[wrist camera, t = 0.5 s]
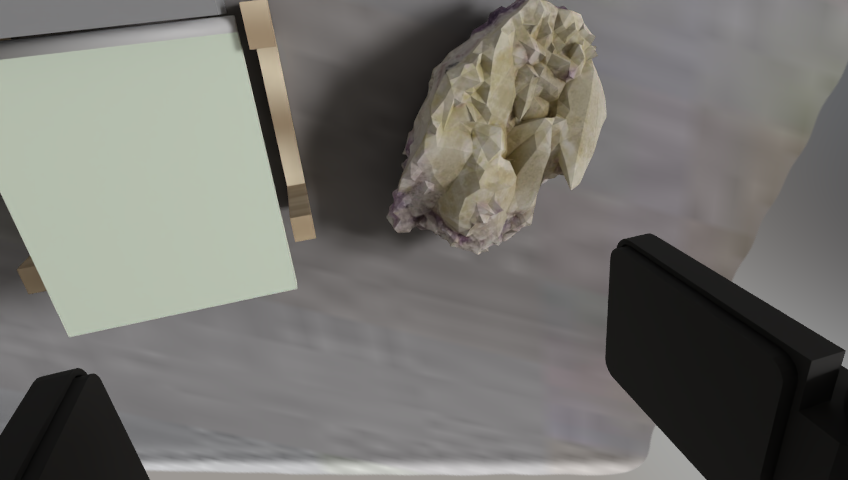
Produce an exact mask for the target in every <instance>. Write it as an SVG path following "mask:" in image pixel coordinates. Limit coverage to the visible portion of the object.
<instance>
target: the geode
mask: <svg viewBox="0 0 848 480" xmlns="http://www.w3.org/2000/svg"><path fill="white" fill-rule="evenodd" d="M595 37H596V36H594V35H592V34H591V32H590V31H589V30H588V28H587V27H586V25H585V24H584V22H583V19H582V16H581V14H578V13H576V12H574V11H571V10H568V9H567V8H565V7H564V6H562V7H557V6H554V5H553V4H551V3H550V2H548V1H546V0H516V1H515V2H514V3H513V4H511V5H510V6H508V7H507V8H505V7H502V6H501V7H499V8H498V9H496V10H495V11H494V12H492V13H491V14H490V16H489V18H488V20H487V22H486V23H484V24H482V25H481V26H479V27H478V28H476V29H474V30H473V31H472V33H471V36H470V38H469V40H467V41H466V42H464V43H463V44H461V45H460V46H458V47H457V48H455V49H454V50H452V51H451V52H450V53H449V54H448V55H447V56H446V57H445V59H444V60H443V61H442V62H441V63H440V64H439V65H438V66H436V67H435V68H434V69H433V71H432V76H431V80H430V81H429V90H428V95H427V97H426V99H425V101H424V103H423V105H422V106H421V108H420V110H419V113H418V115H417V117H416V119H415V121H414V127H413V129H412V131H410V132H409V133H408V138H407V143H406V146H405V149H404V151H403V154H404V155H407V157H408V158H407V159H406V160H405V161H404V162H403V163H402V164H401V165H402V167H403V170H404V171H403V173H402V176H401V178H400V181H399V184H398V188H397V189H396V190H395V191H393V192H392V194H393V198H394V203H393V204H392V205H391V206H390V207H389V212H388V214H387V217H386V218H387V219H388V221H389V222H390V223H391V225H392V226H393V228H394V229H395V230H396V232H397V233H406V232H410V231H411V230H412V229H413V228H414V227H417V228H419V229H420V230H431V231H433V232H434V233H435V234H436V235H437V234H438V235H440V236H441V238H442V239H445V240H447V241H448V242H449V243H450V246H451V247H457V248H461V249H464V250H468V251H472V252H474V253H476V254H477V255H479V254H480V253H481V252H489V251H488V247H490V246H491V245H493V244H495V245H497V246H499V245H501V244H500V243H501V242H503V241H507V240H508V239H509V238H510V237H513V235H514V234H515V233H516V232H518V231H519V230H520V228H521V227H525V226H528V225H531V223H532V217H533V212H534V208H535V203H536V196H537V193H538V191H539V188H540V186H541V185H542V184H543V183H545V182H546V181H547V180H548V179H551V178H555V177H556V176H557V175H559V174H560V175H564V176H565V179H566V181H567V183H568V185H569V187H570V189H571V190H572V189H574V188H575V187H576V186H577V185H579V184H580V182H581V179H582V177H583V175H584V172H585V170H586V168H587V166H588V164H589V162H590V159H591V157H592V155H593V153H594V150H595V146H596V143H597V140H598V136H599V133H600V130H601V127H602V125H603V123H604V121H605V119H606V117H607V116H606V102H605V96H604V92H603V88H602V84H601V82H600V79H599V77H598V74H597V71H596V69H595V67H594V64H593V62H592V58H594V57H596V56H598V55H597V53H596V51H595V50H596V46H592V45H591V43H592V42H593V40H594V38H595Z"/></svg>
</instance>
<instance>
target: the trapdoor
mask: <svg viewBox="0 0 848 480" xmlns="http://www.w3.org/2000/svg"><path fill="white" fill-rule="evenodd" d="M225 13H227V11H226V7H225V3H224V0H0V39H1V38H11V37H20V36H29V35H38V34H47V33H56V32H65V31H75V30H84V29H93V28H102V27H111V26H120V25H129V24H138V23H148V22H157V21H166V20H175V19H184V18H193V17H202V16H212V15H220V14H225ZM0 193H1V195H2V197H3V199H4V201H5V203H6V206H7V208H8V210H9V212H10V214H11V216H12V218H13V220H14V222H15V225H16V227H17V229H18V231H19V233H20V235H21V237H22V239H23V241H24V243H25V246H26V248H27V250H28V252H29V254H30V256H31V258H32V260H33V262H34V265H35V267H36V269H37V271H38V273H39V275H40V277H41V279H42V281H43V283H44V286H45V288H46V290H47V292H48V294H49V296H50V298H51V300H52V302H53V305H54V307H55V309H56V311H57V313H58V315H59V317H60V319H61V321H62V324H63V326H64V328H65V330H66V332H67V334H68V336H69V337H73V336H77V335H82V334H87V333H91V332H96V331H101V330H106V329H110V328H115V327H120V326H124V325H129V324H134V323H138V322H143V321H148V320H153V319H157V318H162V317H167V316H171V315H176V314H181V313H185V312H190V311H195V310H200V309H204V308H209V307H214V306H218V305H223V304H228V303H232V302H237V301H242V300H247V299H251V298H256V297H261V296H265V295H270V294H275V293H279V292H284V291H289V290H294V289H297V280H296V276H295V272H294V268H293V263H292V259H291V255H290V250H289V246H288V242H287V238H286V233H285V229H284V225H283V220H282V216H281V212H280V208H279V203H278V199H277V195H276V190H275V186H274V182H273V178H272V173H271V169H270V165H269V160H268V156H267V152H266V148H265V143H264V139H263V135H262V130H261V126H260V122H259V118H258V113H257V109H256V105H255V100H254V96H253V92H252V88H251V83H250V79H249V75H248V70H247V66H246V62H245V57H244V53H243V49H242V45H241V40H240V36H239V32H238V27H237V23H236V19H235V16H234V15H231V16H222V17H213V18H204V19H195V20H185V21H176V22H167V23H158V24H149V25H140V26H131V27H122V28H113V29H104V30H95V31H86V32H77V33H67V34H58V35H49V36H40V37H31V38H22V39H13V40H4V41H0Z"/></svg>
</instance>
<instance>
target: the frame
mask: <svg viewBox="0 0 848 480" xmlns="http://www.w3.org/2000/svg"><path fill="white" fill-rule="evenodd" d="M239 4H240V9H241V13H242V17H243V22H244V26H245V31H246V35H247V39H248V44H249V48H250V50H253V49H257V53H258V57H259V62H260V66H261V71H262V75H263V80H264V84H265V89H266V93H267V98H268V102H269V107H270V111H271V116H272V120H273V125H274V129H275V134H276V138H277V143H278V147H279V152H280V156H281V161H282V165H283V170H284V174H285V179H286V183H287V190H288V201H289V212H290V220H291V225H292V229H293V234H294V238H295V242H299V241H304V240H309V239H314V238H316V235H315V230H314V225H313V220H312V215H311V209H310V204H309V199H308V194H307V189H306V185H305V180H304V175H303V170H302V165H301V160H300V155H299V151H298V146H297V141H296V136H295V131H294V126H293V121H292V117H291V112H290V107H289V102H288V97H287V92H286V87H285V83H284V78H283V73H282V68H281V63H280V58H279V53H278V49H277V44H276V39H275V34H274V29H273V24H272V19H271V15H270V10H269V5H268V1H267V0H256V1H247V2H239ZM4 40H11V38H1V39H0V41H4ZM17 271H18V273H19V275H20V277H21V279H22V281H23V283H24V286H25V288H26V290H27V292H28V294H33V293H38V292H43V291H47V290H46V288H45V286H44V283H43V281H42V279H41V277H40V275H39V273H38V271H37V269H36V267H35V265H34V262H33V260H32V258H31V256H29V257H28V258H27V259H26V260H25V261H24V262H23V263H22V264H21V265H20V267H19V268H18V269H17Z"/></svg>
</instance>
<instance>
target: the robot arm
mask: <svg viewBox="0 0 848 480" xmlns="http://www.w3.org/2000/svg"><path fill="white" fill-rule="evenodd" d="M844 354H845V350H844V349H842V348H840V347H839V346H837V345H835V344H833V343H832V342H830V341H829V340H827V339H825V338H824V337H822V336H820V335H819V334H817V333H815V332H814V331H812V330H811V329H809V328H807V327H806V326H804V325H802V324H801V323H799V322H797V321H796V320H794V319H792V318H790V317H789V316H787V315H786V314H784V313H782V312H781V311H779V310H777V309H776V308H774V307H772V306H771V305H769V304H768V303H766V302H764V301H763V300H761V299H759V298H758V297H756V296H754V295H753V294H751V293H749V292H747V291H746V290H744V289H743V288H741V287H739V286H738V285H736V284H734V283H733V282H731V281H729V280H728V279H726V278H725V277H723V276H721V275H720V274H718V273H716V272H715V271H713V270H711V269H710V268H708V267H706V266H705V265H703V264H701V263H700V262H698V261H696V260H695V259H693V258H691V257H690V256H688V255H686V254H685V253H683V252H682V251H680V250H678V249H677V248H675V247H673V246H672V245H670V244H668V243H667V242H665V241H663V240H662V239H660V238H658V237H657V236H655V235H653V234H644V235H640V236H635V237H631V238H627V239H623V240H621V241H620V242H619V243H618V245H617V248H616V249H614V250H613V251H612V253H611V258H610V277H609V297H608V317H607V337H606V356H605V358H606V365H607V368H608V370H609V372H610V374H611V375H612V377H613V378H614V379H615V380H616V381H617V382H618V383H619V385H620V386H621V387H622V388H623V389H624V390H625V391H626V392H627V393H628V394H629V395H630V397H631V398H632V399H633V400H634V401H635V402H636V403H637V404H638V405H639V406H640V407H641V409H642V410H643V411H644V412H645V413H646V414H647V415H648V416H649V417H650V418H651V419H652V421H653V422H654V423H655V424H656V425H657V426H658V427H659V428H660V429H661V430H662V431H663V432H664V434H665V435H666V436H667V437H668V438H669V439H670V440H671V441H672V442H673V443H674V445H675V446H676V447H677V448H678V449H679V450H680V451H681V452H682V453H683V454H684V455H685V456H686V458H687V459H688V460H689V461H690V462H691V463H692V464H693V465H694V466H695V468H697V470H698V471H699V472H700V473H701V474H702V475H703V476H704V477H705V478H706V479H707V480H848V369H846V368H845V367H843V366H841V364H842V361H843V358H844ZM0 480H150V479H149V477H148V475H147V473H146V471H145V469H144V467H143V465H142V463H141V461H140V459H139V457H138V455H137V453H136V451H135V449H134V447H133V445H132V442H131V440H130V438H129V436H128V434H127V432H126V430H125V428H124V426H123V424H122V422H121V420H120V418H119V416H118V414H117V412H116V410H115V408H114V406H113V404H112V402H111V399H110V397H109V395H108V393H107V391H106V389H105V387H104V385H103V383H102V381H101V379H100V378H99V376H97V375H96V374H89V375H87V373H86V372H85V371H84V370H82V369H80V368H76V369H72V370H67V371H63V372H59V373H55V374H50V375H46V376H42V377H39V378H37V379H36V380H35V381H34V382H33V384H32V385H31V387H30V389H29V390H28V392H27V393H26V395H25V397H24V398H23V400H22V401H21V403H20V405H19V406H18V408H17V409H16V411H15V413H14V414H13V416H12V417H11V419H10V421H9V422H8V424H7V425H6V427H5V429H4V430H3V432H2V433H1V435H0Z"/></svg>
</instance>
